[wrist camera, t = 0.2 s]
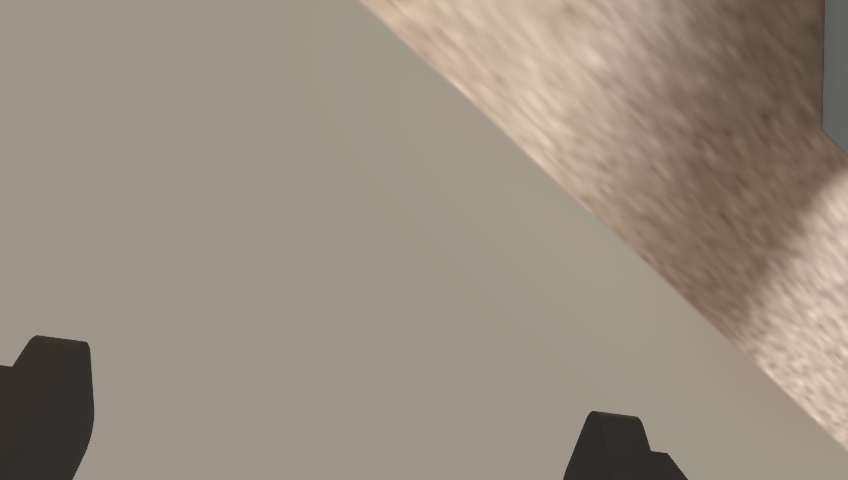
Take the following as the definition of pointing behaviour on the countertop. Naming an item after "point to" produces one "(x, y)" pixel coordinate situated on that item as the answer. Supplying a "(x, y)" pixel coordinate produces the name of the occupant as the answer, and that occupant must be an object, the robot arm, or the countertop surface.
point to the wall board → (836, 73)
